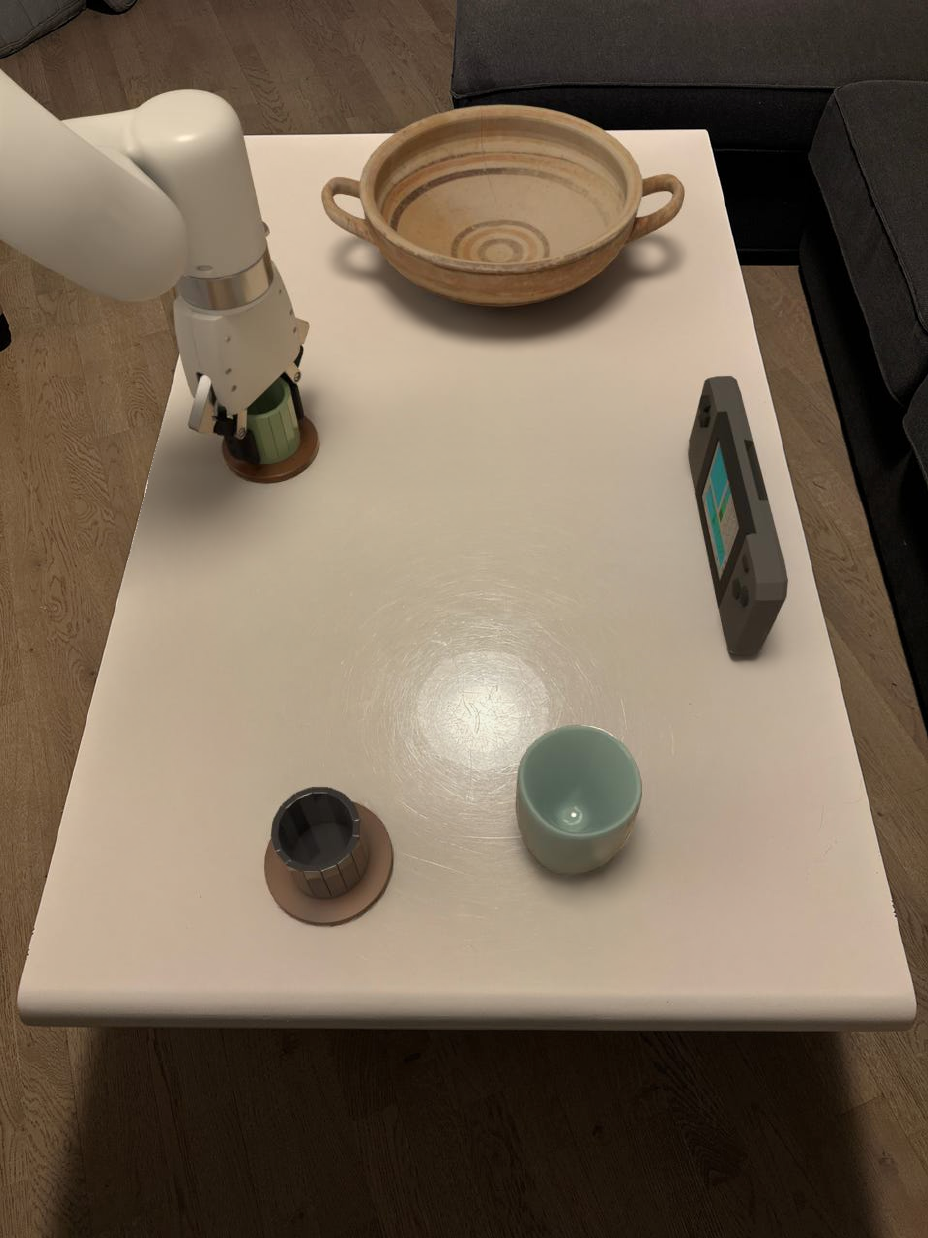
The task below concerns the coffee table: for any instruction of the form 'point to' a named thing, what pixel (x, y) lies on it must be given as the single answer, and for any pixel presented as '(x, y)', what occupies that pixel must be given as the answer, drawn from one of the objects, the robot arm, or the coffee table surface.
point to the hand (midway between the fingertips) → (267, 434)
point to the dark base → (347, 904)
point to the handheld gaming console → (736, 518)
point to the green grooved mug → (274, 423)
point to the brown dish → (280, 469)
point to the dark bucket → (320, 842)
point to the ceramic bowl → (501, 203)
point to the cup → (576, 798)
